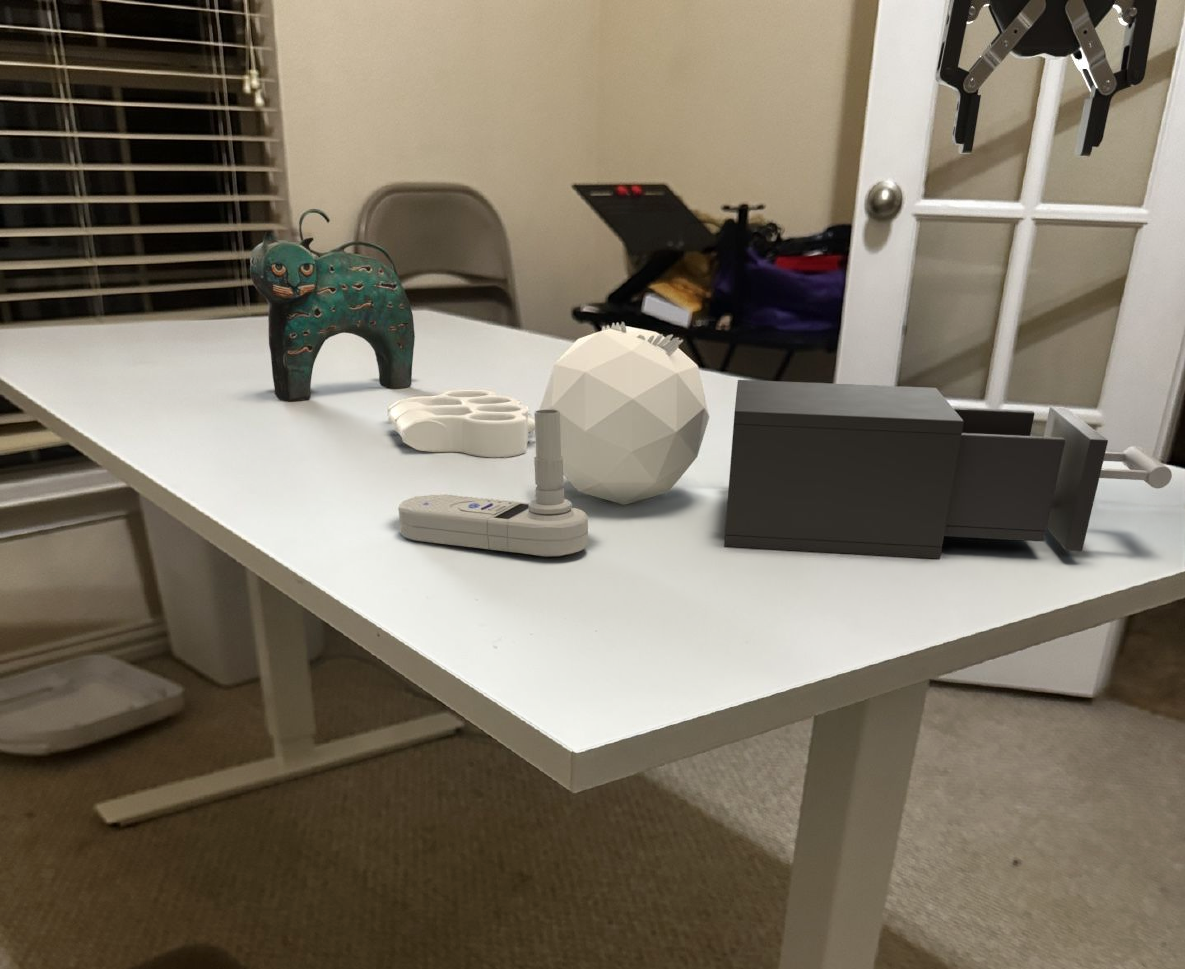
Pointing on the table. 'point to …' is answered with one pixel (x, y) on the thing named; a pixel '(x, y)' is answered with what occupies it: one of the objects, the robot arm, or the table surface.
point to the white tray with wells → (464, 423)
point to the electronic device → (506, 510)
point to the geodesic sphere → (627, 413)
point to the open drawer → (1034, 476)
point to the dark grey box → (841, 468)
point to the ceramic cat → (330, 309)
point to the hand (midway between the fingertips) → (1023, 154)
